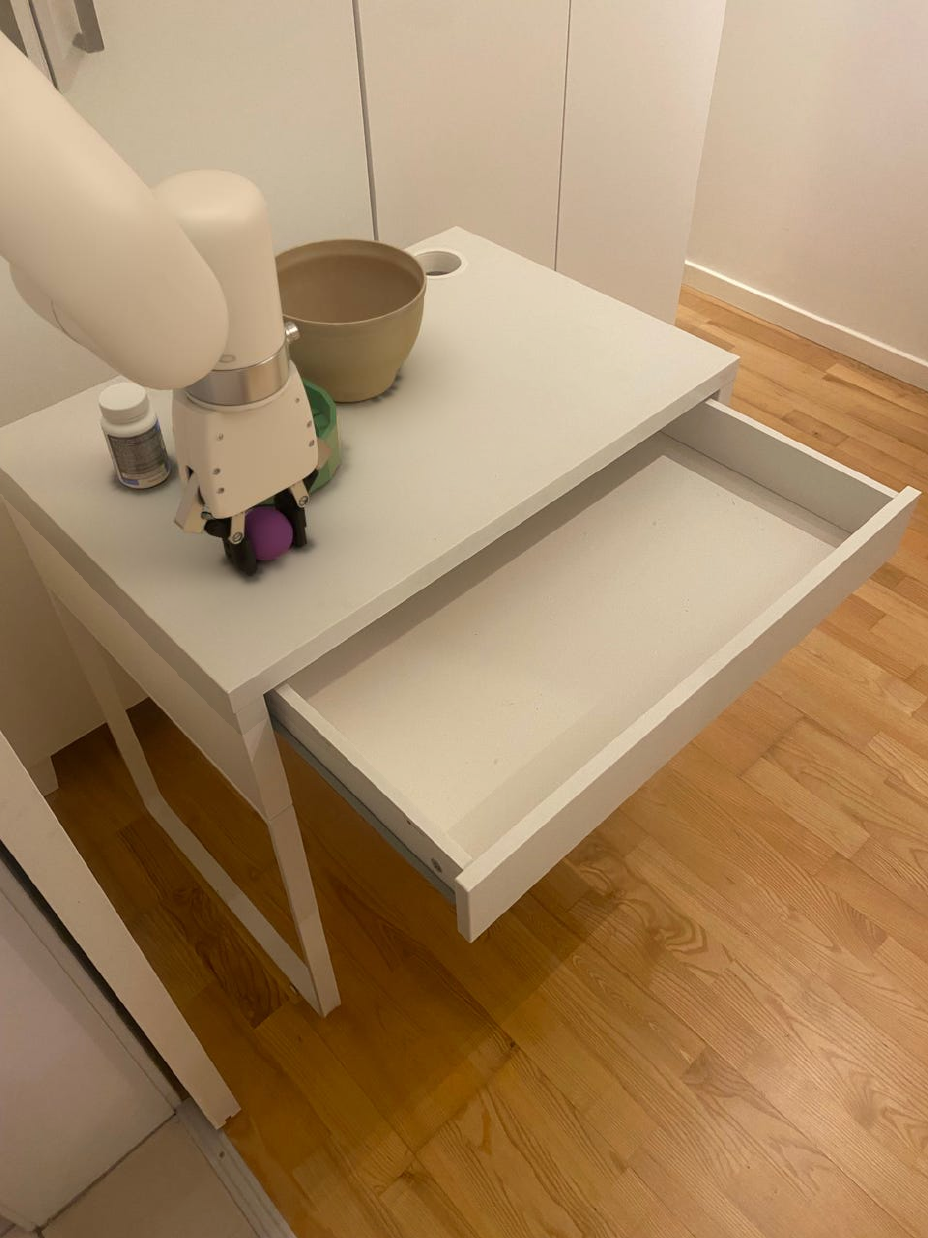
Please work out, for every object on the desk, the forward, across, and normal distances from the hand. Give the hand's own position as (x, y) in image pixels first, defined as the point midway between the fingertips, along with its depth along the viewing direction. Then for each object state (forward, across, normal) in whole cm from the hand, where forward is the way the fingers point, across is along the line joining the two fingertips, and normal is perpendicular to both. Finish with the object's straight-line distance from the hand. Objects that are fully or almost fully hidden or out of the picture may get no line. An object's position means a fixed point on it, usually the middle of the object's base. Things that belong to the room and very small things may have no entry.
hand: (268, 549), depth 80 cm
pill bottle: (+1, +2, -16) cm, 16 cm away
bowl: (0, -7, -10) cm, 12 cm away
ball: (-2, 0, 0) cm, 2 cm away
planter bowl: (+1, -21, -16) cm, 26 cm away
